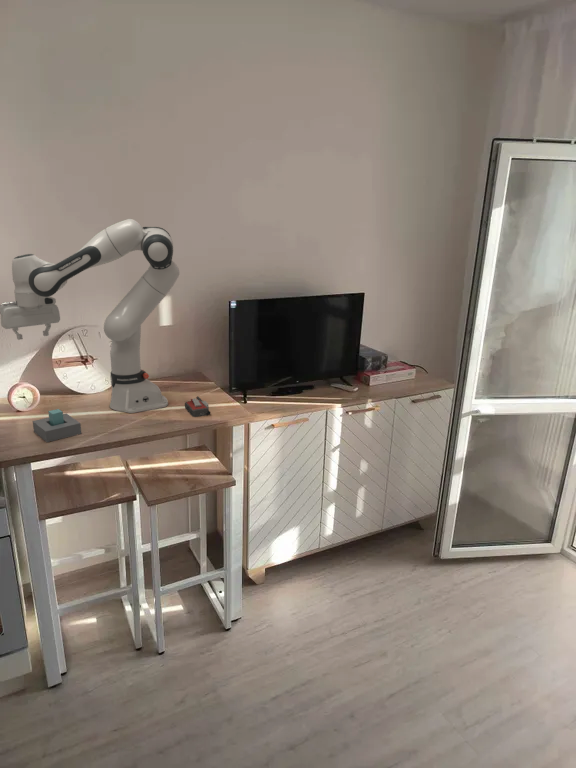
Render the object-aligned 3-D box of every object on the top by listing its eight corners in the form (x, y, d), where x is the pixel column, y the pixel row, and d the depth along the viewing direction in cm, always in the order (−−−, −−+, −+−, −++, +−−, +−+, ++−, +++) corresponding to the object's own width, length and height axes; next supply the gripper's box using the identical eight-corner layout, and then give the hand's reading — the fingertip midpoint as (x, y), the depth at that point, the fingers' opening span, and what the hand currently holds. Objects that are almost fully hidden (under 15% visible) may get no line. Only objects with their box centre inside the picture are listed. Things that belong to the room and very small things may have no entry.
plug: (60, 429, 206) (58, 408, 203) (64, 433, 203) (62, 411, 201) (50, 432, 203) (48, 411, 201) (54, 435, 201) (52, 414, 198)
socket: (67, 423, 211) (66, 413, 210) (81, 433, 203) (80, 423, 202) (33, 431, 204) (32, 421, 202) (47, 442, 195) (45, 431, 194)
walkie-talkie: (215, 416, 223) (199, 399, 240) (215, 405, 222) (199, 389, 239) (193, 419, 219) (179, 402, 236) (193, 408, 218) (178, 392, 235)
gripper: (1, 304, 200) (6, 343, 204) (59, 298, 213) (63, 335, 218) (-5, 301, 204) (0, 339, 209) (53, 296, 218) (56, 332, 222)
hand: (33, 337), depth 213 cm, fingers open, 8 cm apart
